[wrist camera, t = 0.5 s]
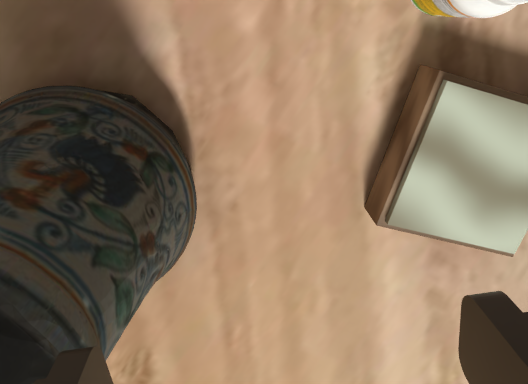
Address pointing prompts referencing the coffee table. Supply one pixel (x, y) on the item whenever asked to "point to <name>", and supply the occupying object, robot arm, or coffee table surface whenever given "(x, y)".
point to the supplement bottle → (466, 7)
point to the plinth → (456, 165)
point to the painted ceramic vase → (83, 221)
